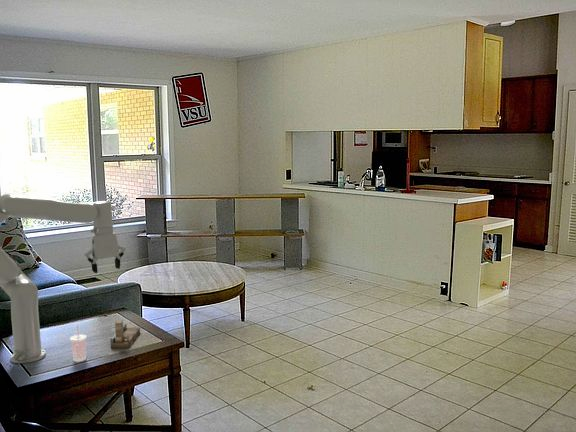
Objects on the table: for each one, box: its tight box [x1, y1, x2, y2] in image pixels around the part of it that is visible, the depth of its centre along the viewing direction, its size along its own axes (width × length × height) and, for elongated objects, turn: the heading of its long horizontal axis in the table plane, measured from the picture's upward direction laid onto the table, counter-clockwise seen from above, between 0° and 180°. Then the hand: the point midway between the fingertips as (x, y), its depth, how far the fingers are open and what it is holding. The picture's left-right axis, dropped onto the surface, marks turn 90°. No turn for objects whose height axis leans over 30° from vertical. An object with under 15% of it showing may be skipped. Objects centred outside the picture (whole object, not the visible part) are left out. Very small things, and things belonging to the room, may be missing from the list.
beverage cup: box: [69, 324, 88, 363], centre depth 206 cm, size 6×6×14 cm
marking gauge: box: [114, 320, 129, 342], centre depth 220 cm, size 4×5×8 cm
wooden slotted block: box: [109, 323, 141, 349], centre depth 227 cm, size 18×7×4 cm, turn 0°
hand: (106, 270), depth 225 cm, fingers open, 9 cm apart
